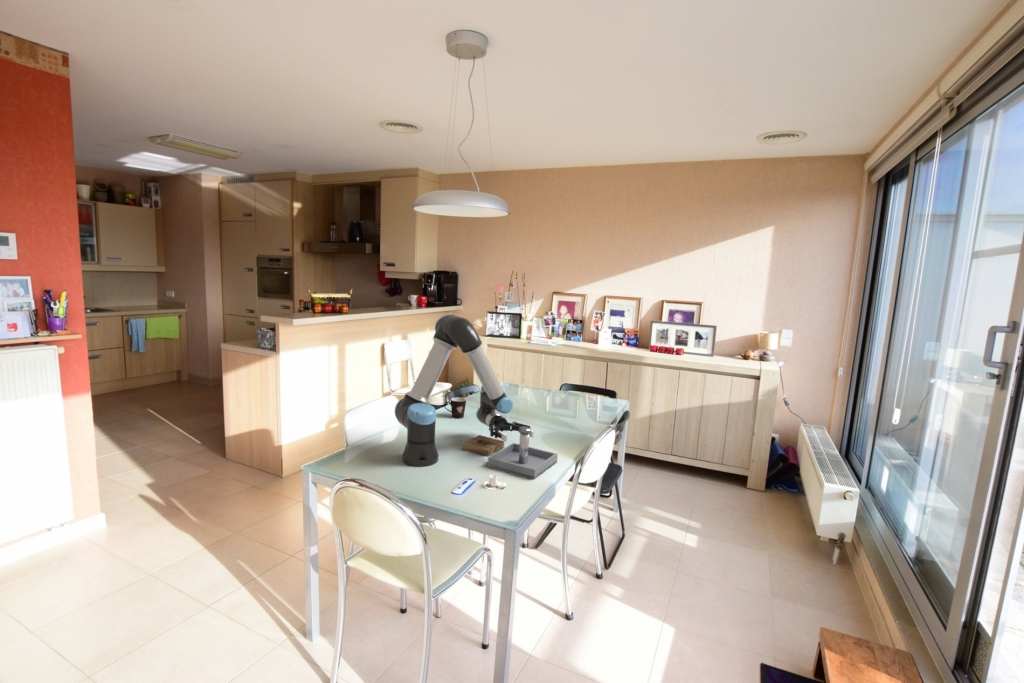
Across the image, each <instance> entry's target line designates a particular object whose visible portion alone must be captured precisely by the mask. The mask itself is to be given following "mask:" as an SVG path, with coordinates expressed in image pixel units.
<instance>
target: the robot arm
mask: <svg viewBox="0 0 1024 683" xmlns="http://www.w3.org/2000/svg"><path fill="white" fill-rule="evenodd" d="M434 330H435V333H434V335H433V337H432V339H433V342H434V343H433V345H432V347H431V349H430V351H429V353H428V356H427V357H426V359H425V361H424V363H423V366H422V367H421V369H420V371H419V373H418V376H417V378H416V379H415V382H414V384H413V385H412V388H411V389H410V390H409V391H407V392H406V393H405V395H404V396H403V398H401V399H400V400H398V401H397V403H396V404H395V406H394V415H395V416H394V417H395V418H396V419H397V422H398V423H399V424H400V425H402V426H403V427H404V428H406V429H407V432H406V433H407V435H406V444H405V447H404V450H403V453H402V462H403V463H404V464H405V465H408V466H413V467H427V466H432V465H434V464H436V463H438V461H439V452H438V450H437V445H436V424H437V421H436V418H437V414H436V412H437V411H436V408H435V407H434V406H433V405H432V404H431V402H430V400H429V398H430V396H431V394H432V392H433V390H434V389H435V386H436V383H437V382H438V380H439V378H440V376H441V374H442V371H443V370H444V367H445V365H446V363H447V361H448V359H449V357H450V355H451V353H452V352H453V351H454V350H457V348H458V347H459V349H460V351H461V352H462V354H465V356H466V357H467V359H468V360H469V363H470V365H471V366H472V368H473V370H474V372H475V375H476V377H477V378H478V379H479V380H478V381H479V382H480V384H481V387H480V396H479V399H480V403H479V407H478V409H477V410H476V412H475V415H476V416H475V417H476V419H477V420H478V421H479V422H480V423H481V424H483V425H486V426H487V427H488V431H489V432H490V434H489V436H490V438H493V437H494V439H498V438H499V440H502V441H504V443H505V442H508V435H507V434H506V433H504V431H505V432H507V431H509V432H513V431H515V432H519V427H529V428H531V425H528V424H524V423H519V422H517V421H512V422H508V421H507V420H508V419H507V418H506V417H504V416H502V415H500V414H499V413H501V414H508V413H510V412H511V411H512V410H513V407H514V403H513V401H512V399H511V398H510V397H509V396H507V394H506V392H505V391H504V389H503V387H502V385H501V382H500V381H499V379H498V376H497V375H496V373H495V371H494V369H493V367H492V365H491V363H490V361H489V359H488V357H487V355H486V353H485V351H484V348H483V347H482V344H483V342H482V340H481V338H480V336H479V334H478V332H477V330H476V328H475V327H474V325H473V324H472V323H471V322H470V320H469V319H467V318H465V317H462V316H458V315H455V314H445V315H442V316H440V317H439V318H438V319H437V320H436V322H435V325H434ZM497 412H498V413H497ZM534 435H535V432H534V430H532V429H531V433H530V434H529V438H532V439H533V438H534Z"/></svg>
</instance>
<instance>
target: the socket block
mask: <svg viewBox="0 0 1024 683" xmlns="http://www.w3.org/2000/svg"><path fill="white" fill-rule="evenodd" d="M461 447H462V448H461V449H462V450H463V451H466V452H467V451H468V452H471V453H475V454H478V455H482V456H486V457H490V456H492V455H493V454H495V453H497V452H499V451H501V450H502V449H504V448H505V441H503V440H502V439H498V438H493V437H488V436H484V435H481V434H479V435H477V436H475V437H473V438H470V439H468V440H466V441H464V442H462V445H461Z"/></svg>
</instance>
